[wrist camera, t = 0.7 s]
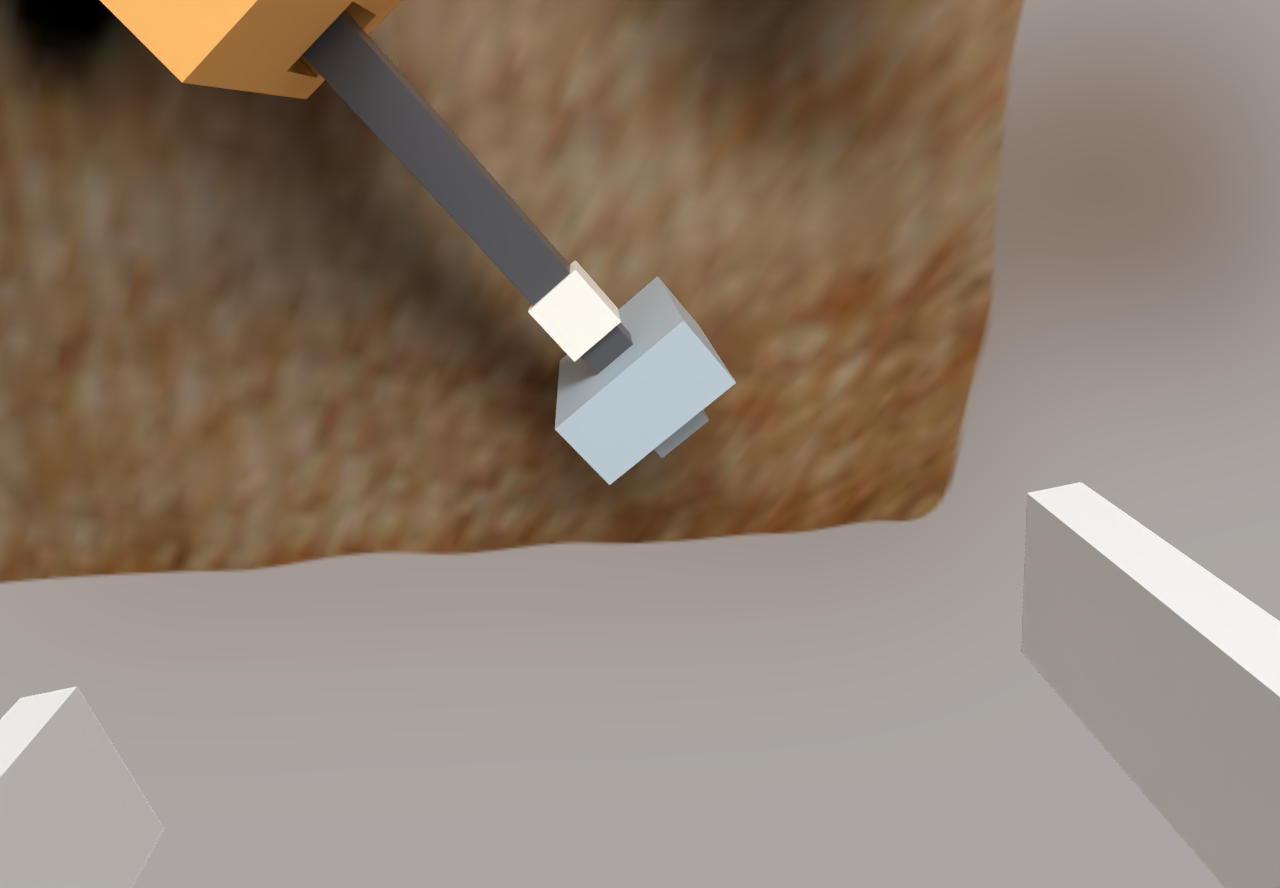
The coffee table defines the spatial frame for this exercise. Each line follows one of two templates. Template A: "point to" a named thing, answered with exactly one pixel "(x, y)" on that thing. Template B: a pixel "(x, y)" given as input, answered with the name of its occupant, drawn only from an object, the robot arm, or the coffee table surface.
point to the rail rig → (544, 278)
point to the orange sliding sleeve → (242, 38)
